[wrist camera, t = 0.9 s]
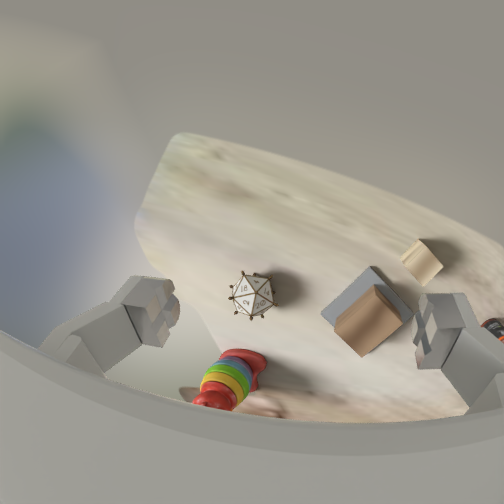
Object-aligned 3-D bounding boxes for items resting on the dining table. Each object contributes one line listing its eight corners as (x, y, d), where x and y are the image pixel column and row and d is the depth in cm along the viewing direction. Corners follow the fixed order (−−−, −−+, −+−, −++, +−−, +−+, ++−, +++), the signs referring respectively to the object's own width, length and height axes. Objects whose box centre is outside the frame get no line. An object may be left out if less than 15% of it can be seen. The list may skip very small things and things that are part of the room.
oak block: (433, 257, 43) (443, 266, 38) (416, 275, 45) (423, 287, 39) (417, 238, 44) (425, 246, 38) (399, 257, 45) (405, 267, 40)
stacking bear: (255, 392, 61) (223, 447, 44) (214, 374, 63) (175, 423, 47) (269, 357, 57) (237, 414, 41) (224, 338, 60) (181, 386, 44)
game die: (268, 272, 58) (279, 261, 48) (276, 315, 56) (289, 313, 46) (222, 280, 56) (223, 270, 47) (230, 324, 54) (233, 323, 45)
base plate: (412, 311, 46) (413, 314, 45) (364, 352, 51) (364, 356, 50) (369, 266, 47) (370, 268, 46) (321, 311, 52) (320, 314, 51)
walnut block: (399, 311, 46) (403, 323, 41) (361, 343, 49) (361, 357, 45) (373, 284, 47) (375, 294, 42) (336, 318, 50) (334, 331, 45)
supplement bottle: (479, 350, 43) (498, 382, 32) (472, 328, 43) (492, 358, 32) (502, 334, 40) (524, 363, 30) (496, 311, 40) (520, 339, 30)
